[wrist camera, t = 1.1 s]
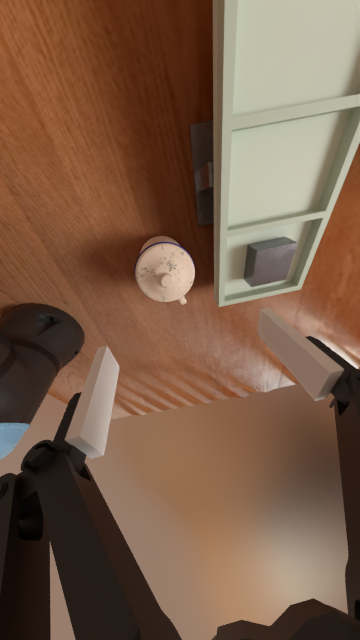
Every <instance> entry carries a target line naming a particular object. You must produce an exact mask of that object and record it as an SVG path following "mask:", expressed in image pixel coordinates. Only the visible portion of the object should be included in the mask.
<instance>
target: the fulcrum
mask: <svg viewBox="0 0 360 640" xmlns="http://www.w3.org/2000/svg"><path fill="white" fill-rule="evenodd" d="M189 132H190V143H191V155H192V166H193V177H194V189H195V200H196V211H197V223H198V226H201V225H206V224H211V223H214V154H213V120H212V121H207V122H201V123H196V124H191V125H190V126H189Z"/></svg>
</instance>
